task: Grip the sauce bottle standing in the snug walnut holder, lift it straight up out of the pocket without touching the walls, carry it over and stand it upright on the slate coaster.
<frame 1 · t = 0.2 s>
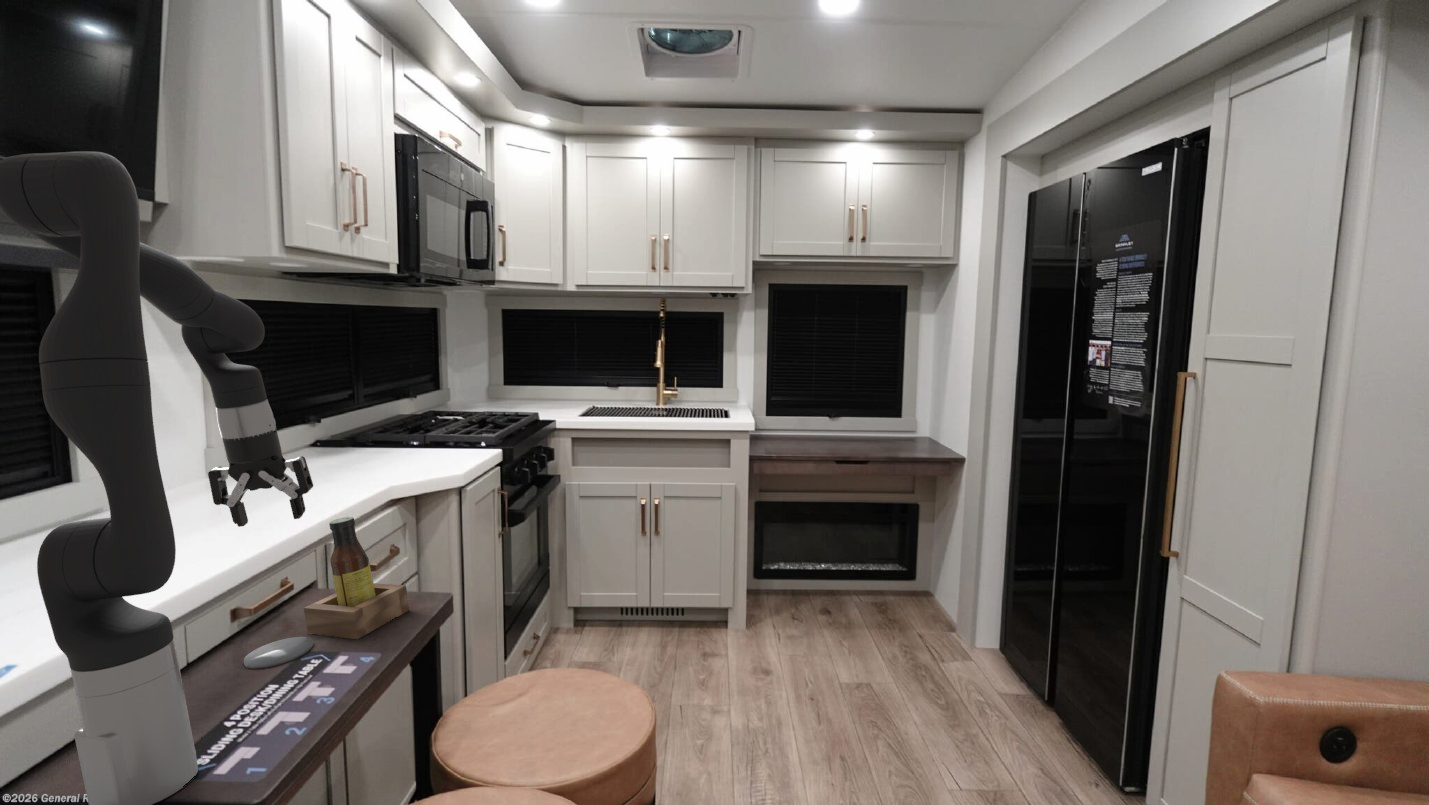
hand: (271, 521, 114), 23 cm above the table, tool pointing down, fingers open, 8 cm apart
sauce bottle: (360, 623, 125), resting in walnut holder
slate coaster: (279, 653, 115), on the table
walnut holder: (360, 621, 125), on the table
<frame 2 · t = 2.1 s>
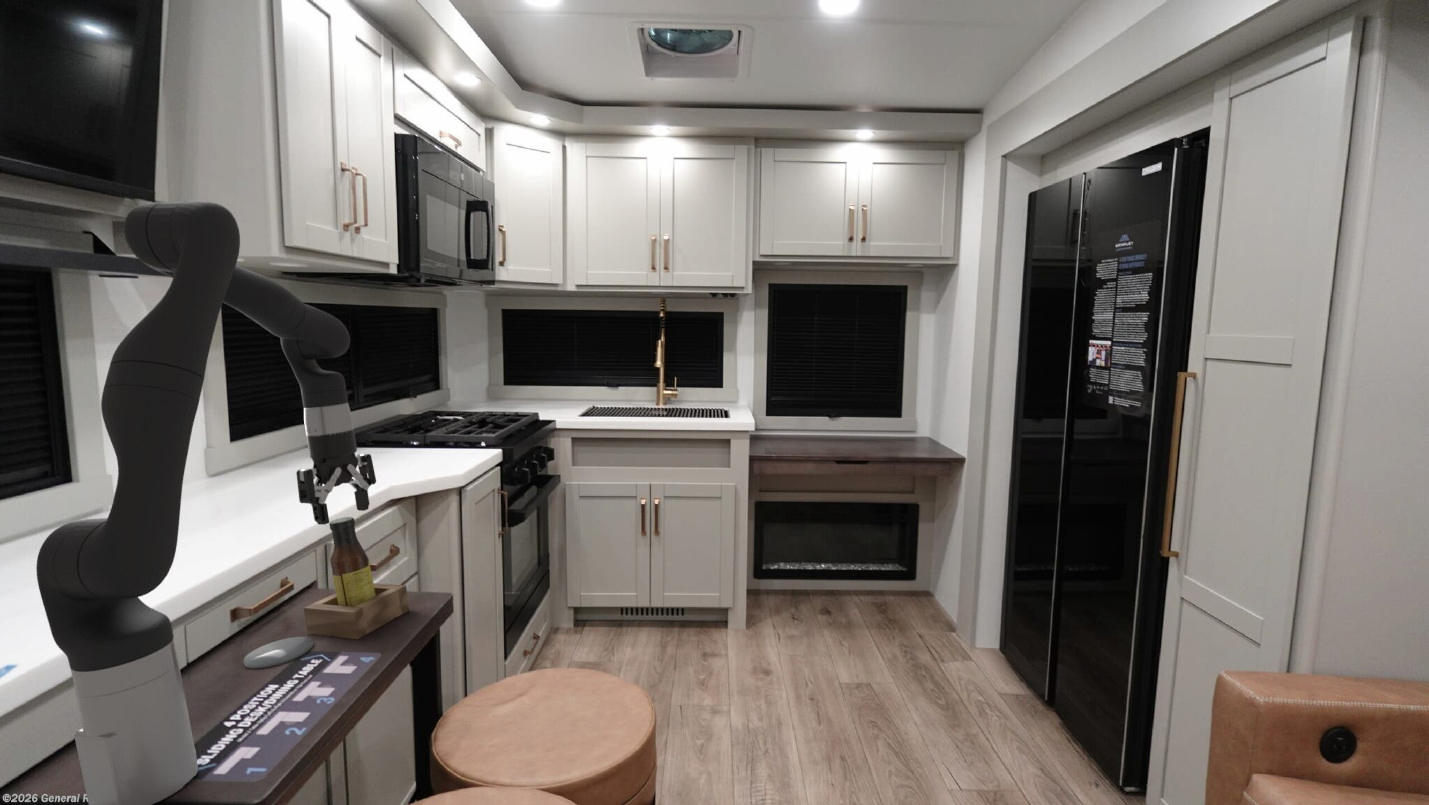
hand: (343, 516, 123), 20 cm above the table, tool pointing down, fingers open, 8 cm apart
nothing on the table moved.
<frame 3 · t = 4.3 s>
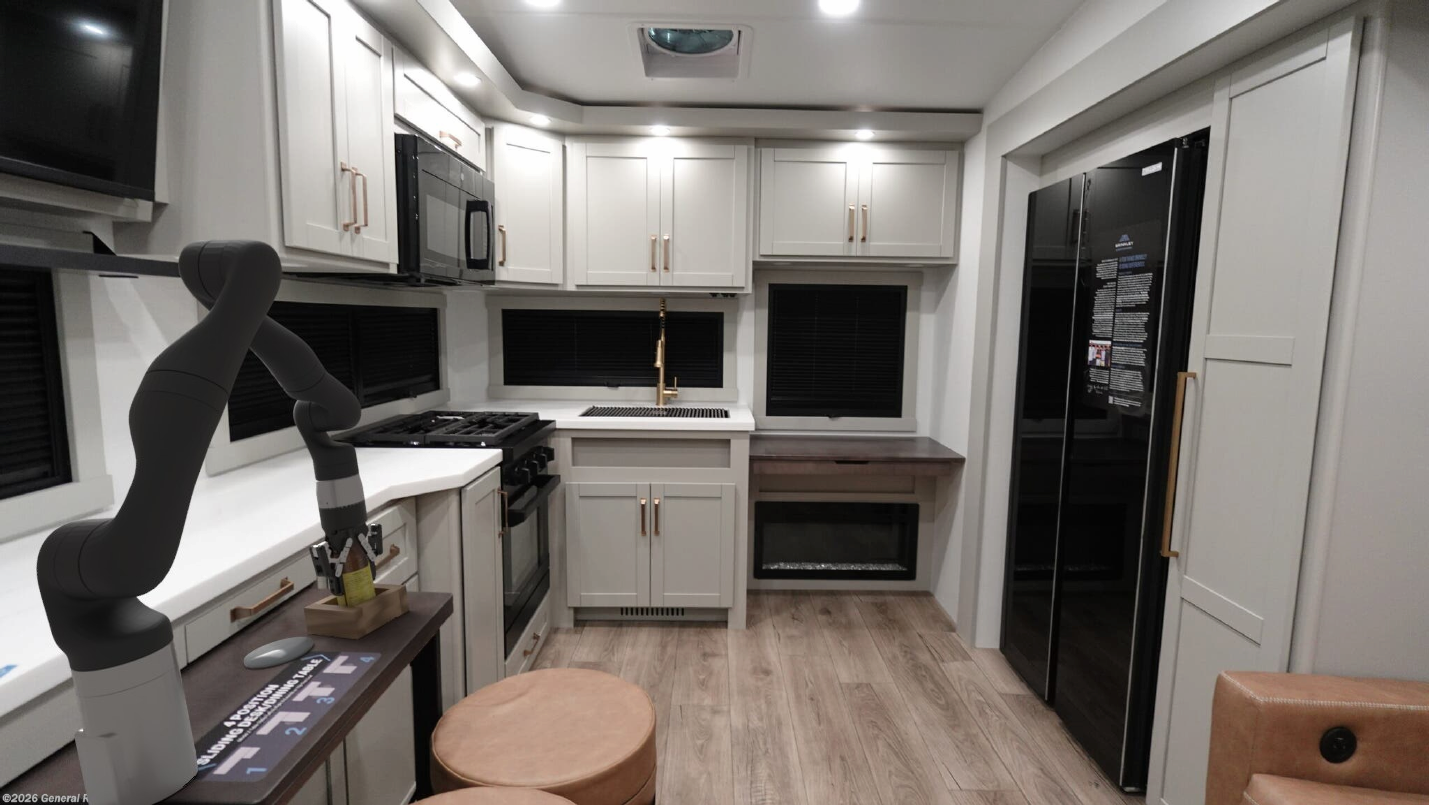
hand: (355, 587, 125), 7 cm above the table, tool pointing down, fingers closed on sauce bottle, 6 cm apart
sauce bottle: (360, 622, 125), resting in walnut holder, touching gripper
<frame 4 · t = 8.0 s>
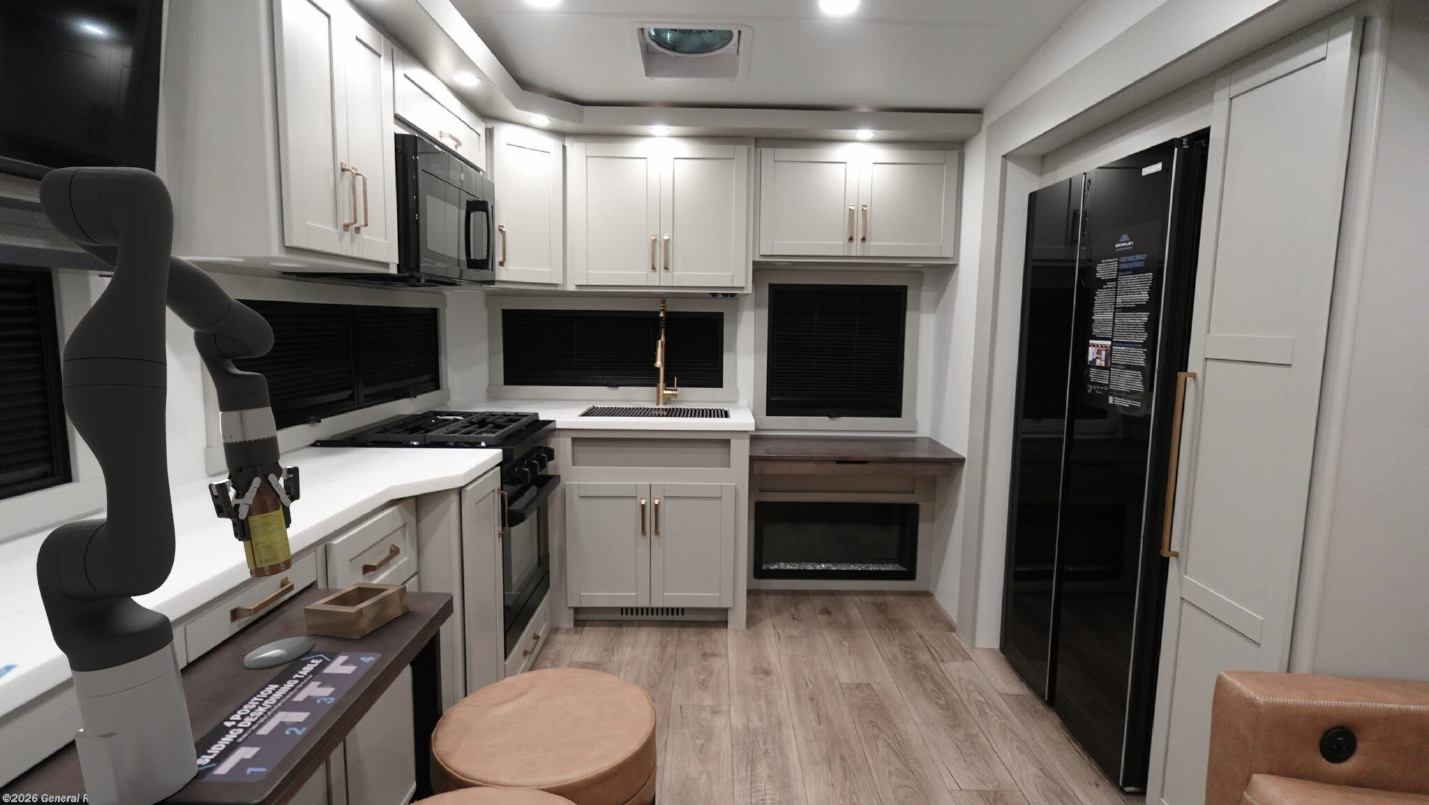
hand: (264, 534, 113), 21 cm above the table, tool pointing down, fingers closed on sauce bottle, 6 cm apart
sauce bottle: (270, 573, 113), point 14 cm above the table, touching gripper
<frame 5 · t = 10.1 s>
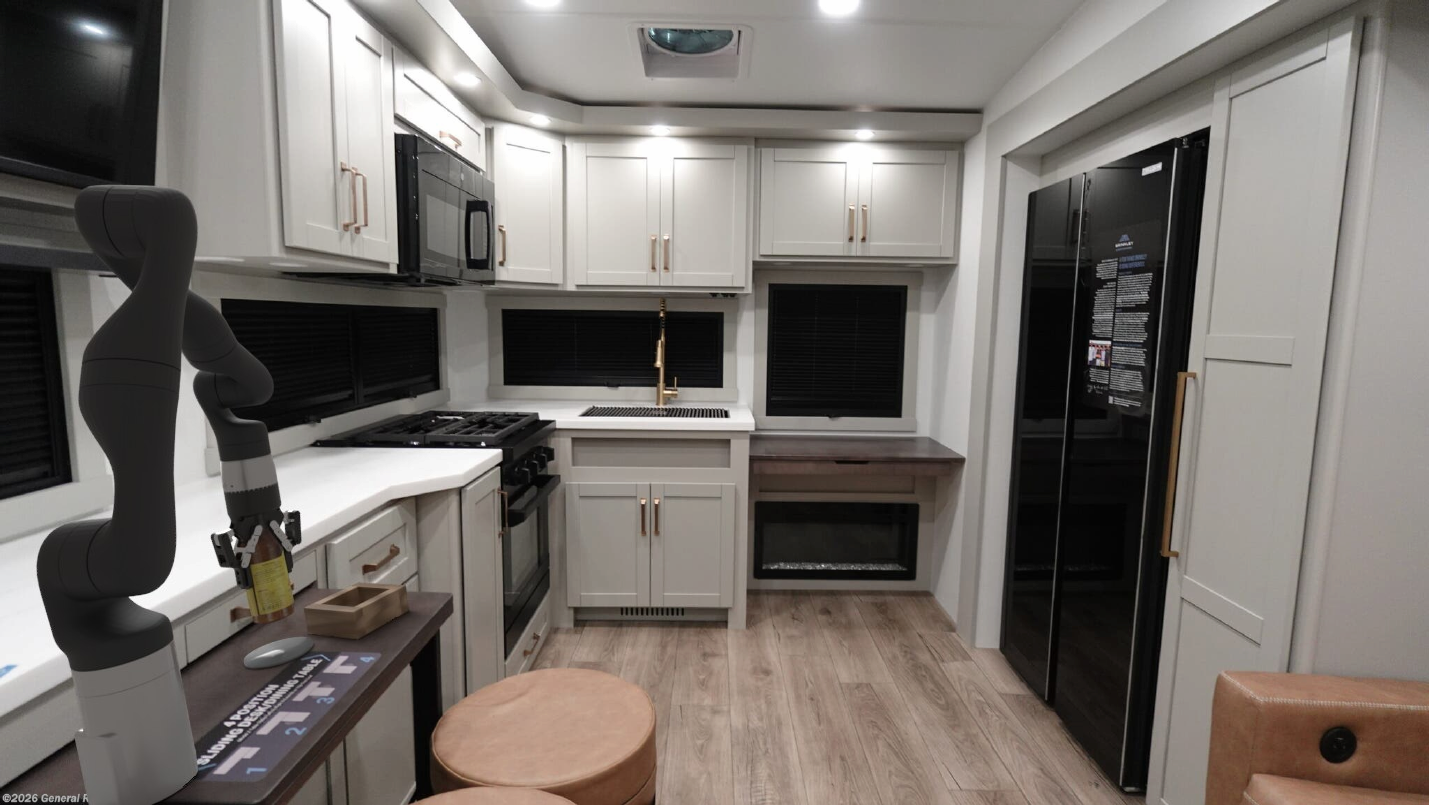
hand: (267, 580, 113), 13 cm above the table, tool pointing down, fingers closed on sauce bottle, 6 cm apart
sauce bottle: (273, 619, 114), point 6 cm above the table, touching gripper
when the fingers open (8 cm above the table, at t = 11.9 s): sauce bottle drops 1 cm, resting on slate coaster.
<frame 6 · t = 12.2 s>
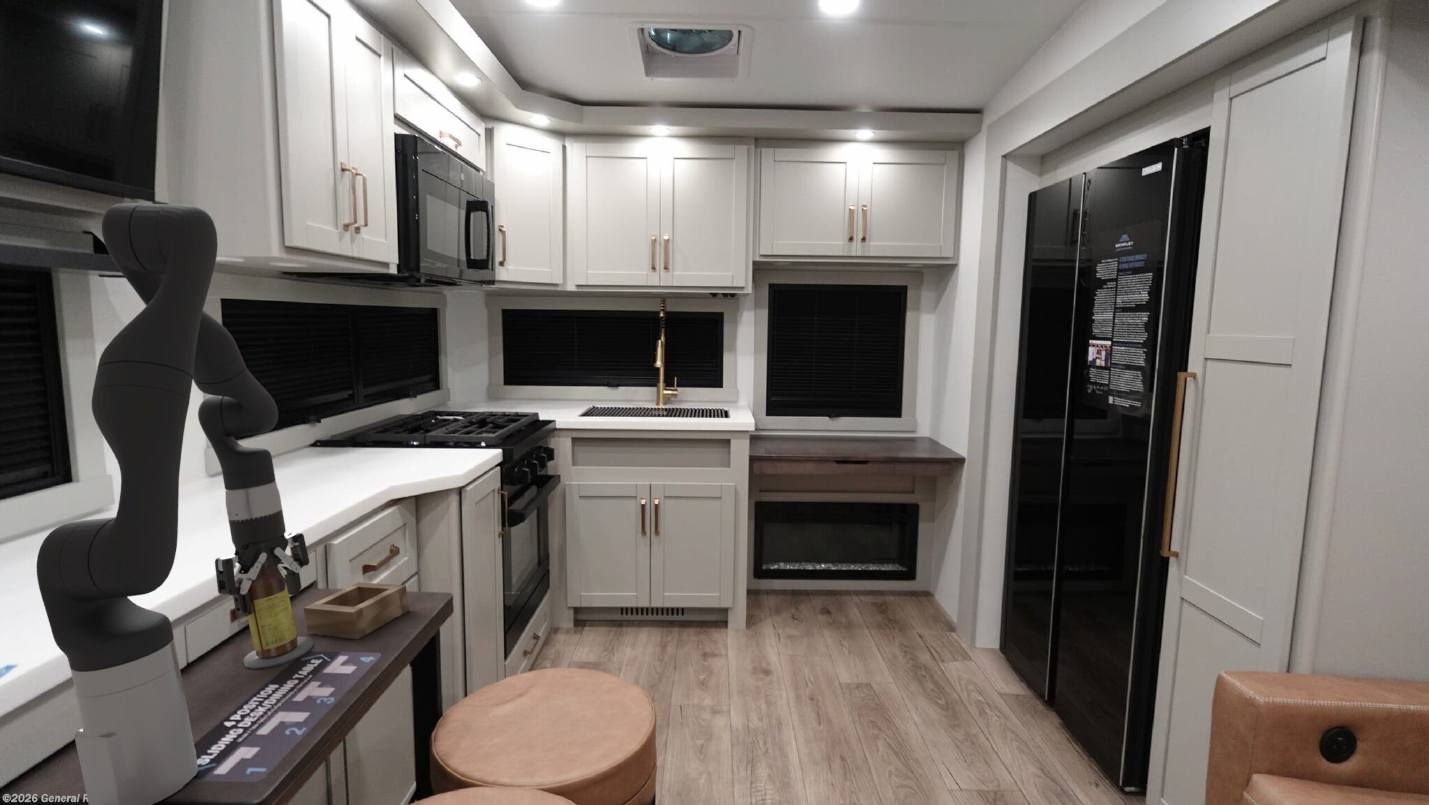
hand: (271, 604, 114), 9 cm above the table, tool pointing down, fingers open, 8 cm apart
sauce bottle: (276, 652, 114), resting on slate coaster
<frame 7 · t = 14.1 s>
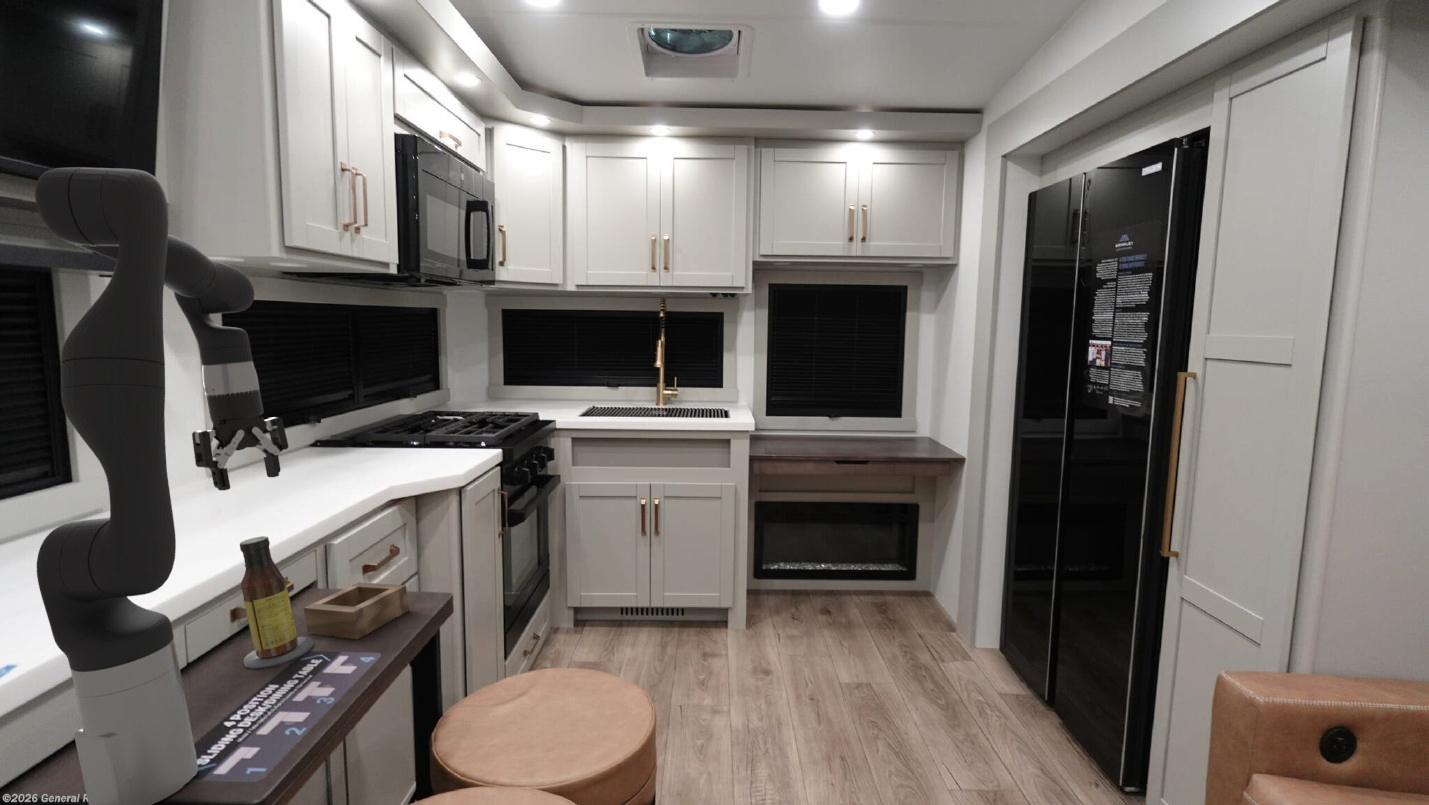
hand: (249, 483, 115), 29 cm above the table, tool pointing down, fingers open, 8 cm apart
nothing on the table moved.
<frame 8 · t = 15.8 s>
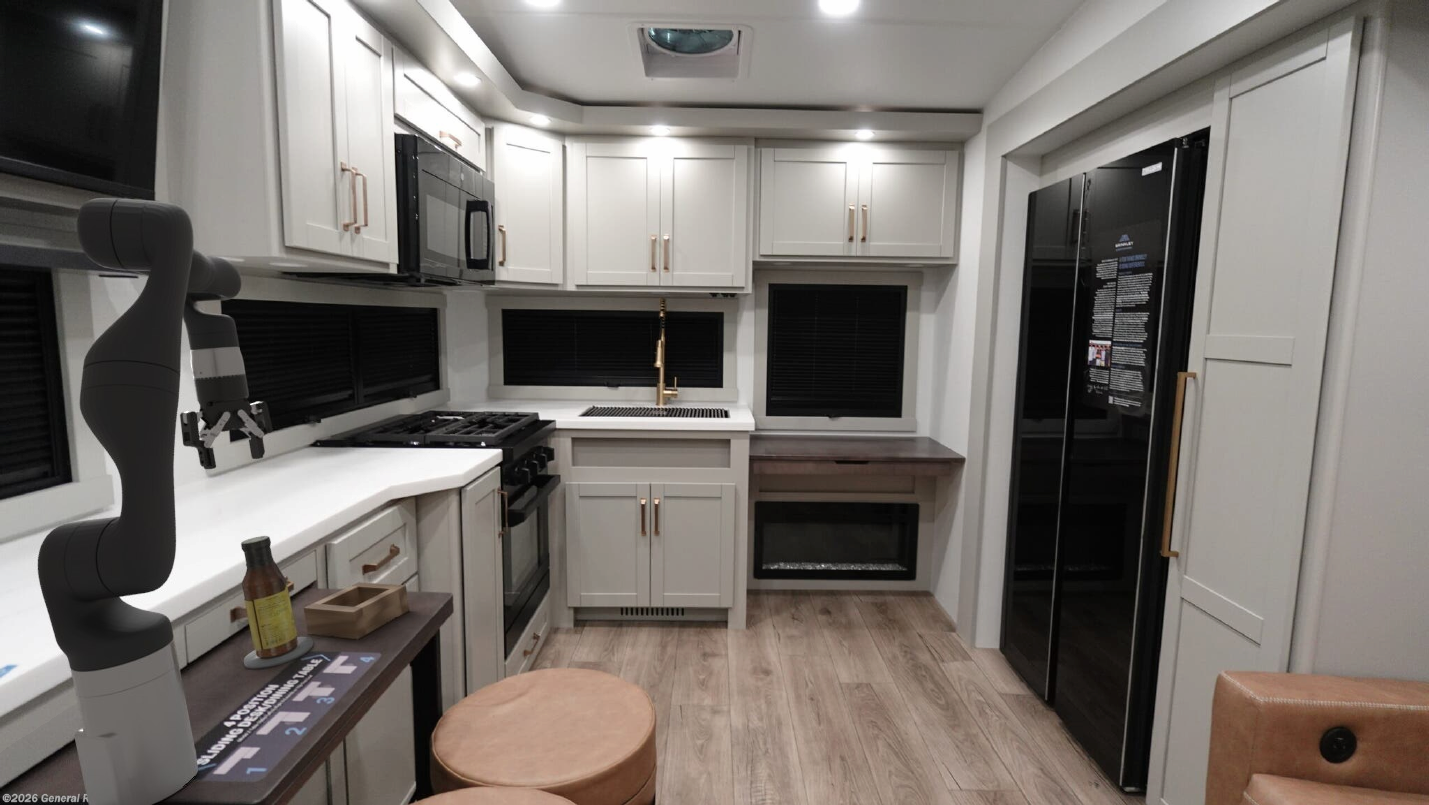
hand: (234, 463, 121), 32 cm above the table, tool pointing down, fingers open, 8 cm apart
nothing on the table moved.
at the end: sauce bottle 0.4 cm off-centre on the slate coaster, point 0.4 cm above the slate coaster's base; sauce bottle tilted 0°; the gripper is holding nothing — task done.
